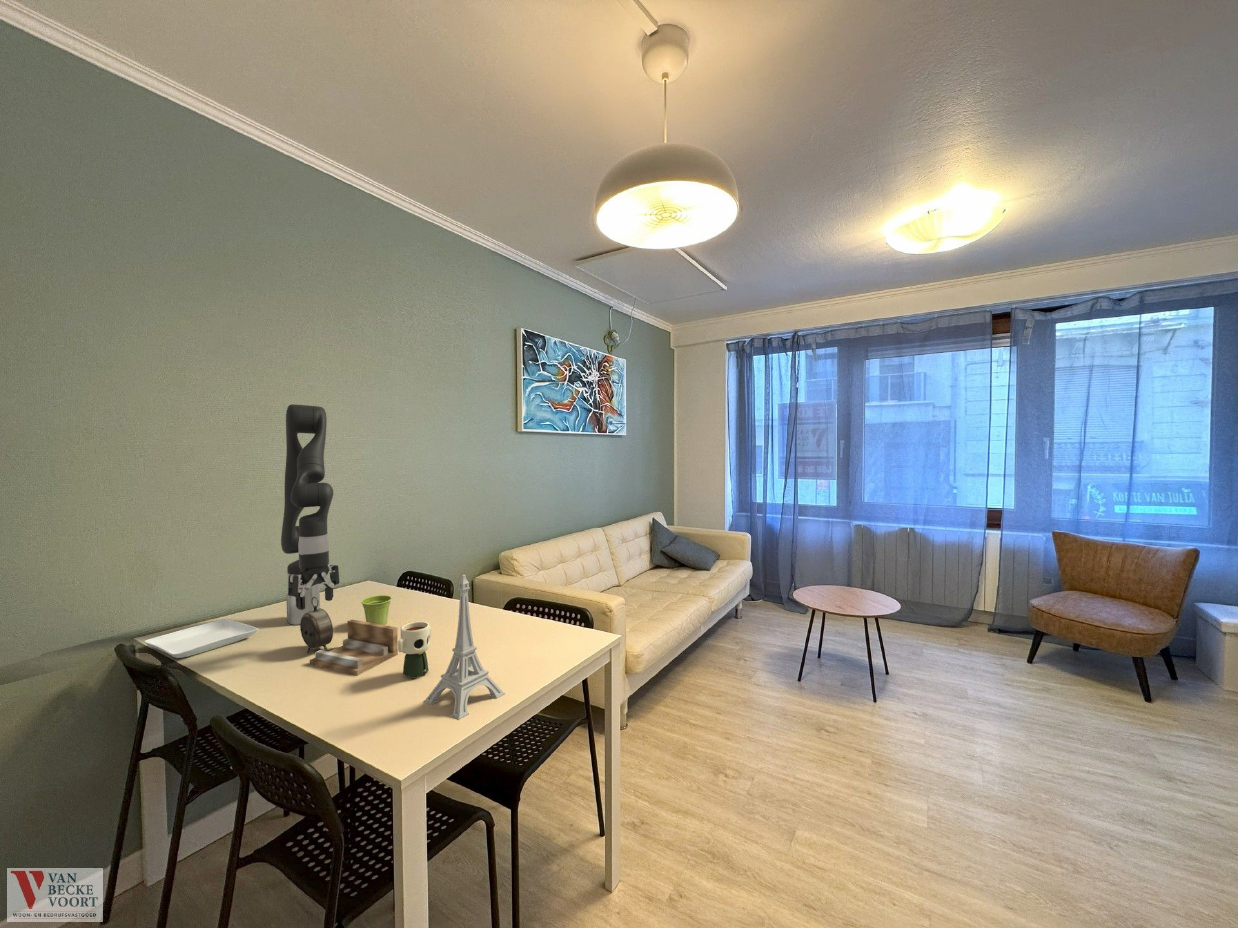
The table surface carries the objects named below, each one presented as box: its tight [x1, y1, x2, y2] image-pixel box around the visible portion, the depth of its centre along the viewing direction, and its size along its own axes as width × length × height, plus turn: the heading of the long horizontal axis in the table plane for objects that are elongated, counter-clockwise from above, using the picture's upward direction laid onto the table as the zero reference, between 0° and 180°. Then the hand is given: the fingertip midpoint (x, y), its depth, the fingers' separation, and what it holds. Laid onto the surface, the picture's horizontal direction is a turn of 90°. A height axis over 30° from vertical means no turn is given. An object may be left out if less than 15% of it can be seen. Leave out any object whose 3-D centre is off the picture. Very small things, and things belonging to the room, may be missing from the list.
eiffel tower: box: [423, 574, 506, 720], centre depth 114 cm, size 13×13×30 cm
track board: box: [309, 619, 399, 676], centre depth 135 cm, size 18×14×8 cm
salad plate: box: [143, 618, 259, 659], centre depth 146 cm, size 21×21×3 cm
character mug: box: [398, 621, 432, 679], centre depth 126 cm, size 11×7×13 cm, turn 158°
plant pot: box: [360, 594, 393, 625], centre depth 161 cm, size 9×9×9 cm
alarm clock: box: [299, 596, 334, 653], centre depth 141 cm, size 11×5×16 cm, turn 58°
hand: (315, 604), depth 141 cm, fingers open, 8 cm apart
